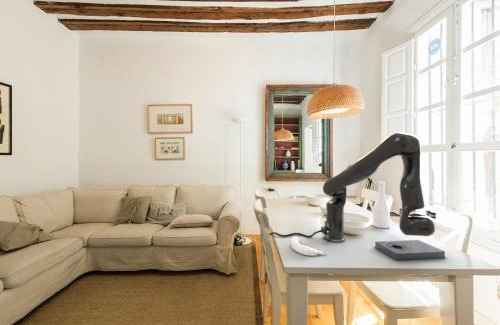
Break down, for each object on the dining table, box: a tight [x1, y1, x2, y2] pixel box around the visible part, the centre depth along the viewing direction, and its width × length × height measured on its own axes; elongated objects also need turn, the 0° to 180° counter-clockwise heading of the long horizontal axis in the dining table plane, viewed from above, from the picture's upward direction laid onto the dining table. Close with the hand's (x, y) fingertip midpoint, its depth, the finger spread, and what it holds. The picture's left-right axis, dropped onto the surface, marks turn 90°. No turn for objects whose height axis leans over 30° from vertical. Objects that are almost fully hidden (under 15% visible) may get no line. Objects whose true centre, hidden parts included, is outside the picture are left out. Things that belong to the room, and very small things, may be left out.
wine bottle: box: [372, 180, 391, 229], centre depth 148 cm, size 10×10×30 cm
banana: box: [290, 236, 325, 256], centre depth 111 cm, size 5×19×15 cm
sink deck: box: [374, 239, 446, 261], centre depth 108 cm, size 24×14×3 cm, turn 97°
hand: (417, 209), depth 110 cm, fingers closed on plug, 4 cm apart
